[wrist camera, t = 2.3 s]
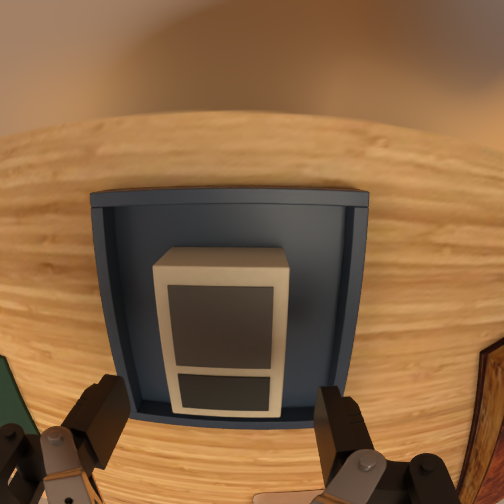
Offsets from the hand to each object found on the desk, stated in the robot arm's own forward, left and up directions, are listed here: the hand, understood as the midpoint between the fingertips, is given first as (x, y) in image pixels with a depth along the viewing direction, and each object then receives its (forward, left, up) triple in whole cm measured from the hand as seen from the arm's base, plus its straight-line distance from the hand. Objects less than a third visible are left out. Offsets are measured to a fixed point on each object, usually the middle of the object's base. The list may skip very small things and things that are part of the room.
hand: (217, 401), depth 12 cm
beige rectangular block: (0, 0, -7) cm, 7 cm away
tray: (0, 0, -8) cm, 8 cm away
